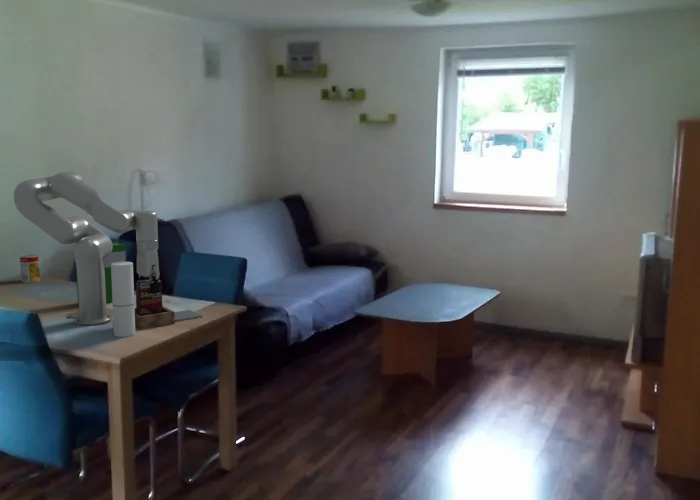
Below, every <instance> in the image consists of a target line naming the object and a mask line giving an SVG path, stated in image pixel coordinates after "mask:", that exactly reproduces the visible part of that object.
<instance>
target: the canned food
mask: <svg viewBox="0 0 700 500" xmlns="http://www.w3.org/2000/svg"><path fill="white" fill-rule="evenodd" d="M39 259H40V258H39V254H32V253H31V254H22V255H20V256H19V264H20V279H21V280H20V282H21V283H23V282H24V283H25V284H29V283H31V282H33V283H38V282H40V281H41V280H40V277H41V276H40V260H39ZM37 281H38V282H37ZM24 283H23V284H24Z"/></svg>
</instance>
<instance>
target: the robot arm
mask: <svg viewBox="0 0 700 500" xmlns="http://www.w3.org/2000/svg"><path fill="white" fill-rule="evenodd" d="M100 195H101V194H100V192H99V191H98V190H97V189H95V188H93V187H91V186H90V185H88V184H87V183H85V182H84V179H83V177H82V176H81V175H80V174H79V173H77V172H75V171H63V172H57V173H55V174H54V175H52V176H47V177H42V178H34V179H32V178H31V179H27V180H23V181H21V182H19V184H17V185H16V187H15V189H14V192H13V202H14V205H15V208H16V210H17V211H18V212H19V213H20V214H21V216H23V217H24V218H25V219H26V220H28V221H29V222H30V223H33V225H34V226H36V227H38V228H39V229H40V230H42V231H43V232H44V233H46V234H47V235H49V236H50V237H51V238H53V239H54V240H55V241H56V242H58V243H60V244H62V245H72V244H75V245H74V249H73V256H74V261H75V268H76V267H77V271H76V280H77V279H78V291H77V297H78V296H79V304H78V308H77V309H76V311H74V312H69V313H68V312H67V313H65V319H67V320H68V319H71V320H74V321H75V323H76V324H78V325H80V326H81V325H84V326H94V325H101V324H107V323H109V322H110V321H111V320H112V316H111V315H110V314H108V313H107V311H108V310H107V304H106V287H105V270H104V266H103V262H102V258H104V257H106V256H108V255H109V254H110V253H111V251H112V248H113V244H112V242H113V241H112V240H111V238H110V237H109V236H108V235H107V234H106V233H105V232H103V231H102V230H100V229H99V228H98V227H96V226H95V225H93V224H92V223H91V222H89V221H88V220H86V219H85V218H82V217H80V216H68V217H67V216H65V215H63V214H61V213H60V212H58V210H56V209H55V208H53V207H51V206H50V205H48V204H46V203H44V202H47V201H52V200H56V199H60V198H61V199H63V200H66V201H67V202H69V203H71V204H73V205H74V206H75V207H78V208H79V209H81V210H82V211H84V212H85V213H86V214H87V215H88V217H90V218H91V219H92V220H93V221H95V222H96V223H97V224H99V225H100V226H102V227H103V228H106V229H107V230H109V231H112V232H114V233H115V234H116V233H117V234H123V233H126V232H128V231H133V230H135V235H136V236H135V237H136V274H138V278H139V279H138V281H139V280H150V281H151V283H150V293H151V294H155V293H159V280H160V267H159V265H160V264H159V256H158V255H159V254H158V249H159V234H158V233H159V231H158V226H159V225H158V214H157V212H156V211H153V210H133V209H122V210H117V209H115V208H113V207H112V206H110V205H108V204H107V203H105V202H104V201H103V200H102V198H101V196H100Z"/></svg>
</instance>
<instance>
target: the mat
mask: <svg viewBox="0 0 700 500" xmlns="http://www.w3.org/2000/svg"><path fill="white" fill-rule="evenodd" d="M174 316H175V322H176V323H177V322H181V321H180V320H182V321H187V320H186V319H188V320H192V319H191V318H194V319H198V318H197V317H200V318H203V315H202V314H200V313H198V312H195V311H193V310H191V309H187V310H180V311H174Z"/></svg>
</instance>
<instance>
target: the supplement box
mask: <svg viewBox="0 0 700 500" xmlns="http://www.w3.org/2000/svg"><path fill="white" fill-rule="evenodd" d="M150 283H151V281H150V279H148V280H139V279H138V280H135V308H136V314H138V315H140V316H144V315H151V314H157V313H162V306H163V281H162V280H161V279H159V293H155V294H151V293H150Z"/></svg>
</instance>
